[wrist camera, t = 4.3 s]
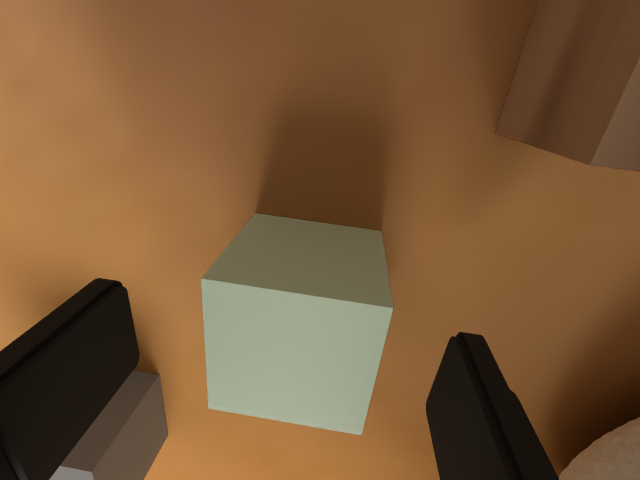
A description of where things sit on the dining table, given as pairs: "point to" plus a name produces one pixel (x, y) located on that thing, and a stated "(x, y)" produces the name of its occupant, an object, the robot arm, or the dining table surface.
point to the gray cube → (121, 435)
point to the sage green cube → (297, 322)
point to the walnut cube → (579, 83)
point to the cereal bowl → (609, 456)
